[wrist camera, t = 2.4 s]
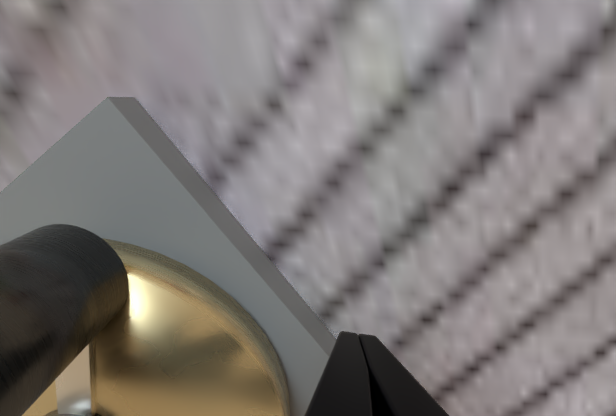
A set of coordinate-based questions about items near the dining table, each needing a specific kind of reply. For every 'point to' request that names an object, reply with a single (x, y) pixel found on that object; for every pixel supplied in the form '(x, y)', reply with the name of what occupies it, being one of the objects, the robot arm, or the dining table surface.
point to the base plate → (165, 225)
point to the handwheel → (125, 334)
